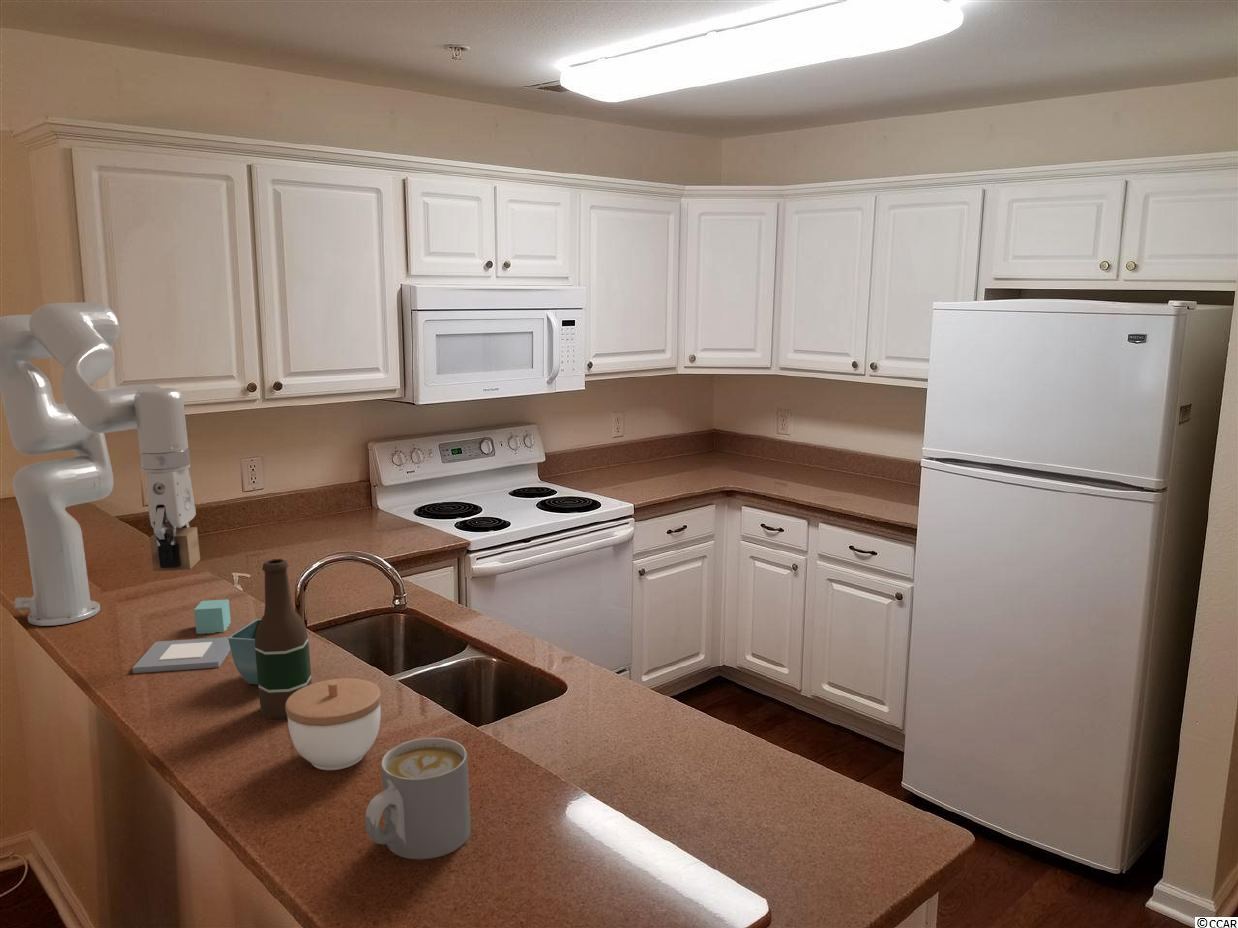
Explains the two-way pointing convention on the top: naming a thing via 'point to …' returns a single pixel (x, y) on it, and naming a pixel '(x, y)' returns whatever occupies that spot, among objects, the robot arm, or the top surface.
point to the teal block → (212, 616)
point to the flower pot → (245, 651)
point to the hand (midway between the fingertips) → (176, 560)
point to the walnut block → (187, 549)
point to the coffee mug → (422, 799)
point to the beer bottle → (280, 644)
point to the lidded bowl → (334, 721)
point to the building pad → (184, 655)
